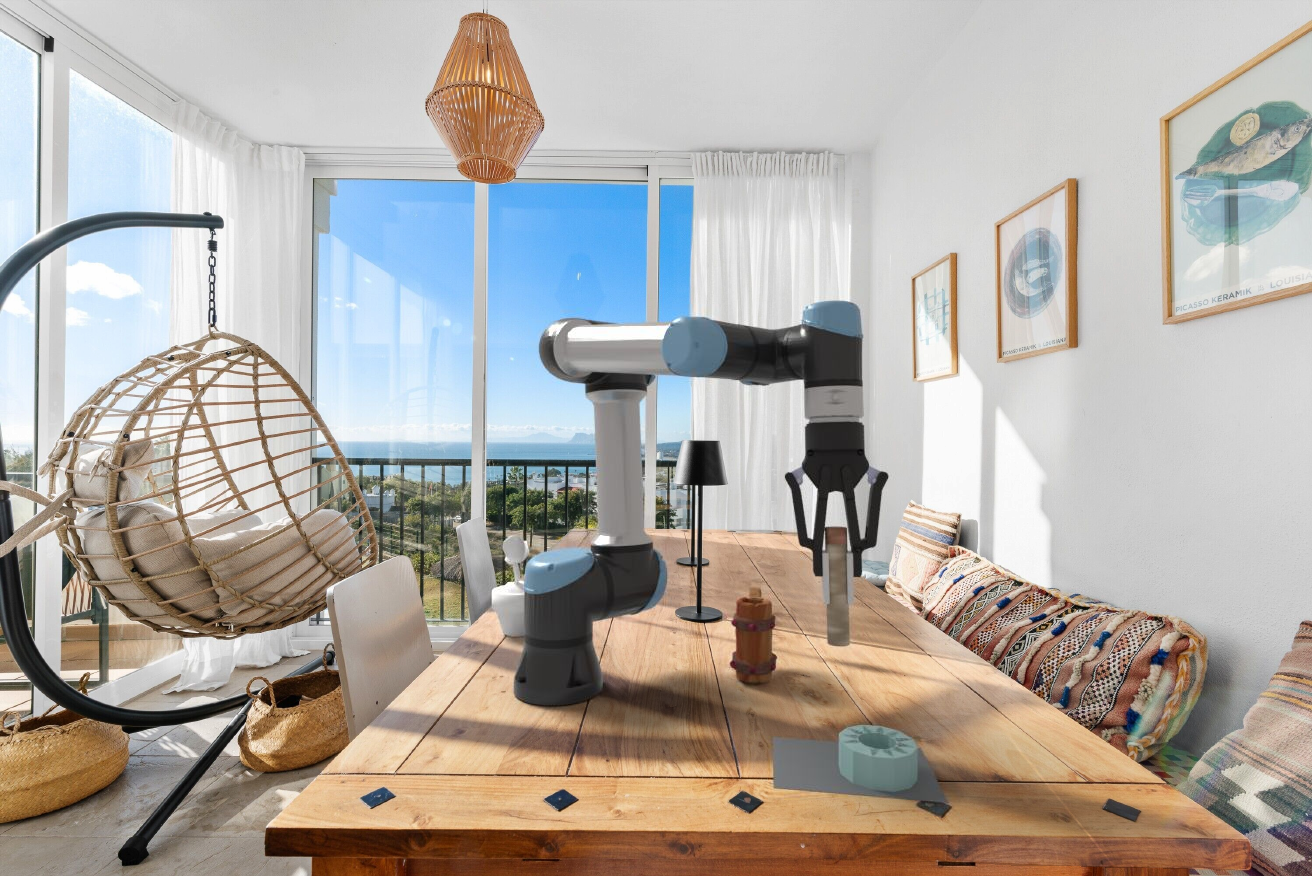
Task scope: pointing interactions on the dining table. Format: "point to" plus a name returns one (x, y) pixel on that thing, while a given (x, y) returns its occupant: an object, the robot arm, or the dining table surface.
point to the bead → (878, 758)
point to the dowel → (837, 587)
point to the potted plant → (512, 589)
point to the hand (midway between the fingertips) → (837, 601)
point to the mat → (838, 772)
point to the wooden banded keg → (753, 638)
